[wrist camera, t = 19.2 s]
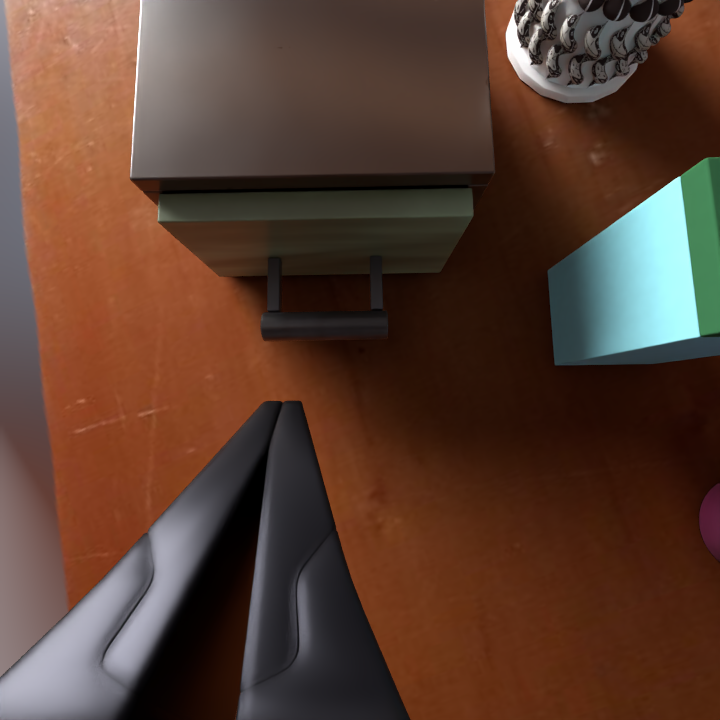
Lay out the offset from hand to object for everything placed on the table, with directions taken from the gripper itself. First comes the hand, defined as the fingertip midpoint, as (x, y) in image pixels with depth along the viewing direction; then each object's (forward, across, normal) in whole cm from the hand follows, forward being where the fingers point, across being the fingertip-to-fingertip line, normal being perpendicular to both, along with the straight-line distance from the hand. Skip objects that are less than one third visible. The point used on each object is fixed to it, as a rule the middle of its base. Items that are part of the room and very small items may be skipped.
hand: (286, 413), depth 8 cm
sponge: (+12, -15, +5) cm, 20 cm away
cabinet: (+20, 0, -2) cm, 20 cm away
